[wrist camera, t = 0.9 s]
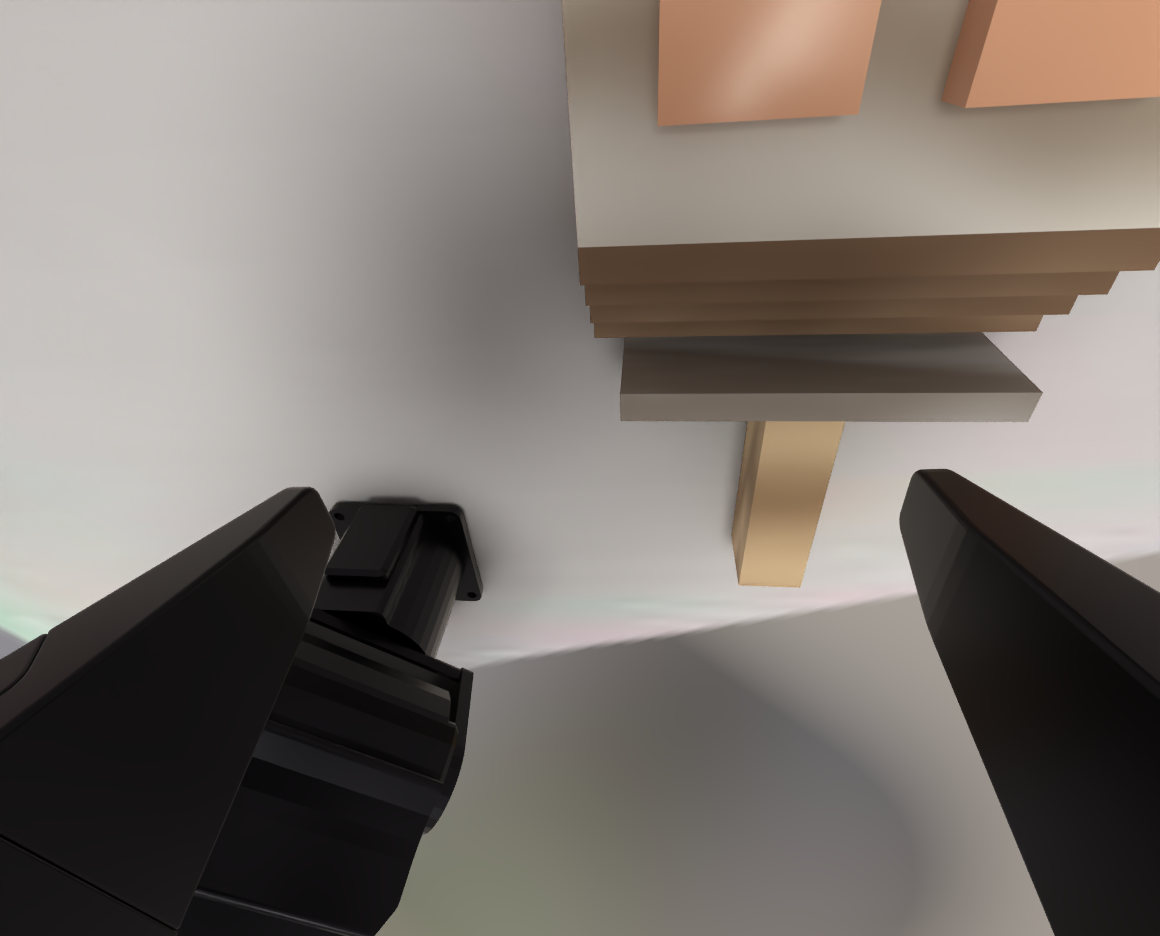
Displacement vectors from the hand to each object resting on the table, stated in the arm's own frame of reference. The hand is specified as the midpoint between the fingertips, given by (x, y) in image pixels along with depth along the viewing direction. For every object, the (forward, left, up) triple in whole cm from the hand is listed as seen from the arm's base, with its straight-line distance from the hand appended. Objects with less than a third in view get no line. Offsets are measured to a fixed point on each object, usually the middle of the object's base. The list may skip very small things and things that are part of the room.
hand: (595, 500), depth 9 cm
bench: (+3, -6, -13) cm, 14 cm away
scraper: (-9, -6, -13) cm, 17 cm away
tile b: (+6, -3, -9) cm, 11 cm away
